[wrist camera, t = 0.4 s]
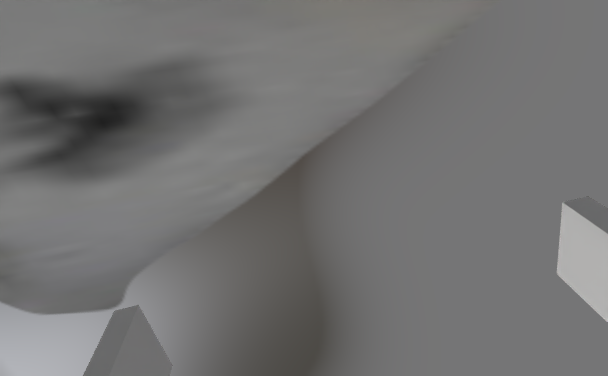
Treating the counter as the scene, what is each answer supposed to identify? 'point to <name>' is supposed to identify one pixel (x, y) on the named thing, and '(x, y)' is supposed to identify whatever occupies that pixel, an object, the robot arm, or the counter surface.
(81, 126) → the counter surface
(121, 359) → the robot arm
